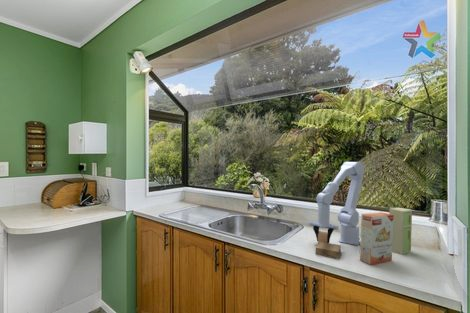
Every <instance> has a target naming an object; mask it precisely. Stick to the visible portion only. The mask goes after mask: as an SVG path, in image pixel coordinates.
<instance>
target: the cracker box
mask: <svg viewBox="0 0 470 313" xmlns="http://www.w3.org/2000/svg"><path fill="white" fill-rule="evenodd" d="M393 217H394V215H392V214H389V213H387V212H382V211H381V212H372V213H371V212H370V213H362V214H361V220H360V222H361V224H360V244H359V245H360V250H359V253H360V255H359V260H360V262H361V261H362V262H364V263H365V264H368V265H370V266H372V265H376V264H382V263H387V262H391V261H393V251H392V242H393Z"/></svg>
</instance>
